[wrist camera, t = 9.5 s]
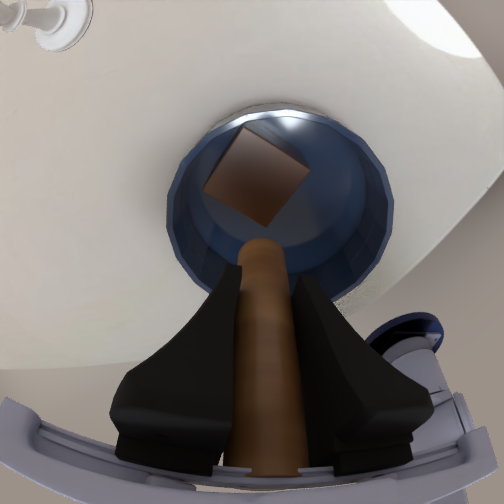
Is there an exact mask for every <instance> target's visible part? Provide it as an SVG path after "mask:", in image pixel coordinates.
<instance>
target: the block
mask: <svg viewBox="0 0 504 504" xmlns="http://www.w3.org/2000/svg"><path fill="white" fill-rule="evenodd" d="M310 171H311V170H310V168H309V166H308V164H307V162H306V160H305V159H304V157H303V155H302V153H301V151H299V150H298V149H296V148H295V147H294V146H292V145H291V144H289V143H288V142H286V141H285V140H283V139H282V138H280V137H279V136H277V135H276V134H274V133H272V132H271V131H269V130H268V129H266V128H265V127H263V126H262V125H260V124H258V123H257V122H255V121H248V122H246V123H244V124H242V125H241V126H240V127H239V129H238V130H237V132H236V133H235V135H234V136H233V138H232V139H231V141H230V142H229V144H228V145H227V147H226V148H225V150H224V151H223V153H222V154H221V156H220V158H219V159H218V161H217V162H216V164H215V166H214V167H213V169H212V171H211V173H210V175H209V177H208V179H207V181H206V183H205V185H204V187H203V189H202V191H203V192H205V193H207V194H208V195H210V196H212V197H214V198H215V199H217V200H219V201H220V202H222V203H224V204H226V205H227V206H229V207H231V208H233V209H234V210H236V211H238V212H239V213H241V214H243V215H244V216H246V217H248V218H250V219H251V220H253V221H255V222H256V223H258V224H260V225H261V226H263V227H265V228H267V227H268V226H269V224H270V223H271V222H272V220H273V219H274V218H275V216H276V215H277V214H278V213H279V211H280V210H281V209H282V207H283V206H284V205H285V204H286V202H287V201H288V200H289V198H290V197H291V196H292V195H293V193H294V192H295V191H296V189H297V188H298V187H299V186H300V184H301V183H302V182H303V180H304V179H305V178H306V177H307V175H308V174H309V173H310Z"/></svg>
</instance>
